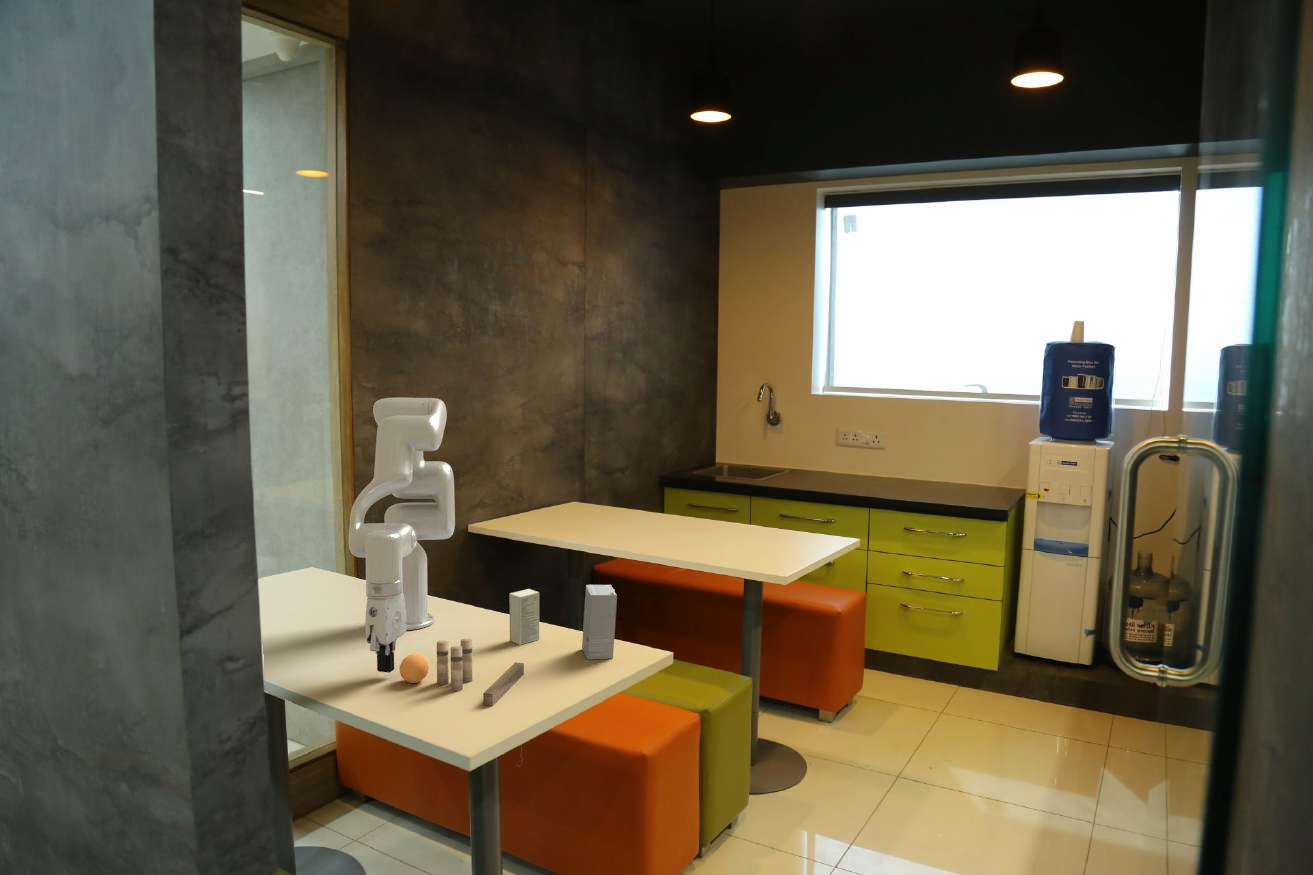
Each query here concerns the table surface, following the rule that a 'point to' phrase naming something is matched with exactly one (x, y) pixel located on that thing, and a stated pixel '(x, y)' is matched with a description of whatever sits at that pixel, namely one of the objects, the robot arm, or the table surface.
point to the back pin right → (456, 668)
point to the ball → (414, 668)
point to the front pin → (442, 662)
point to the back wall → (503, 684)
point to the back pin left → (467, 659)
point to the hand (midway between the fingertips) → (385, 670)
